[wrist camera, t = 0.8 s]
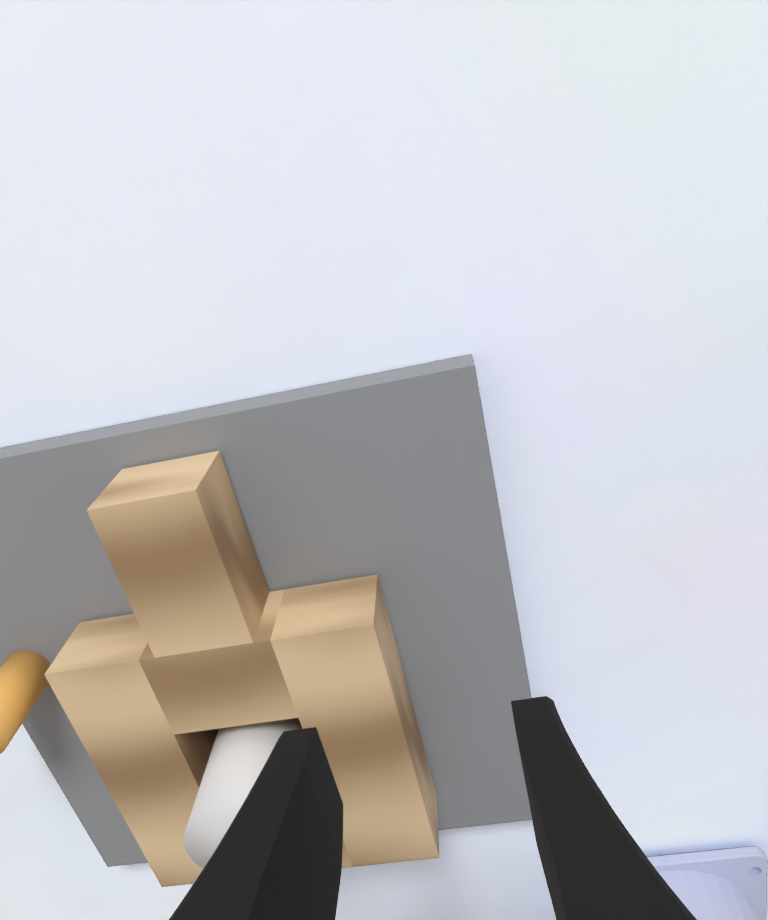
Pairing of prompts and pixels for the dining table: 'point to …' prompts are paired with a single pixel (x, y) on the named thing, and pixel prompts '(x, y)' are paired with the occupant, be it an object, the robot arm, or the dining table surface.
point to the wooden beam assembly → (235, 671)
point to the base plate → (290, 575)
